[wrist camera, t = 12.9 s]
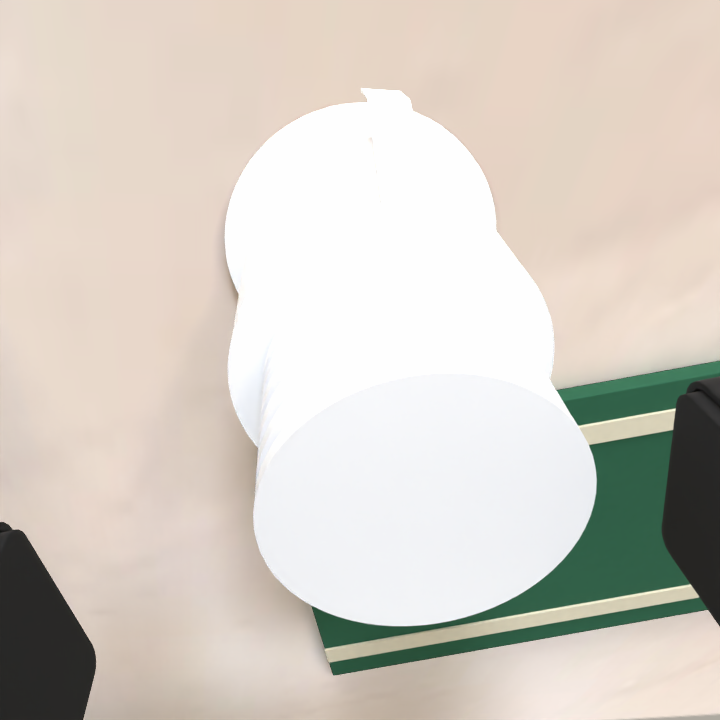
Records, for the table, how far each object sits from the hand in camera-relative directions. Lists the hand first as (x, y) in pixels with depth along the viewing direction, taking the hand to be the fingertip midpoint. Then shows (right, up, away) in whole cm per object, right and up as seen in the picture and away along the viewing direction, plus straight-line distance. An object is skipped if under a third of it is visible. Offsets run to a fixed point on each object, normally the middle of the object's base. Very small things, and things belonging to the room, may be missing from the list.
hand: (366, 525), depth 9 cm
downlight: (0, +6, +8) cm, 10 cm away
